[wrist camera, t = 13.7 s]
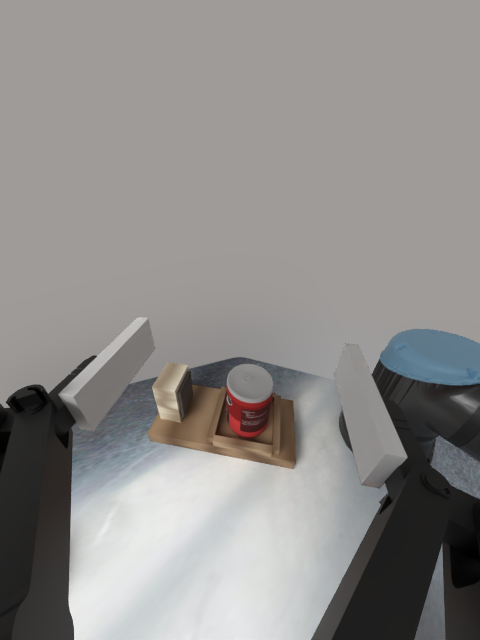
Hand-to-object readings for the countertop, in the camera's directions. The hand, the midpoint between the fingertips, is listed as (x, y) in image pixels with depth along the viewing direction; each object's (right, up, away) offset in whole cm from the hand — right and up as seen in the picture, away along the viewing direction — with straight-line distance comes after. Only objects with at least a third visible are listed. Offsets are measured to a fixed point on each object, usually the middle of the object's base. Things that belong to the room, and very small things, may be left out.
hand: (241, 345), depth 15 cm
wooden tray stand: (-3, -19, +29) cm, 35 cm away
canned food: (+1, -17, +28) cm, 33 cm away
